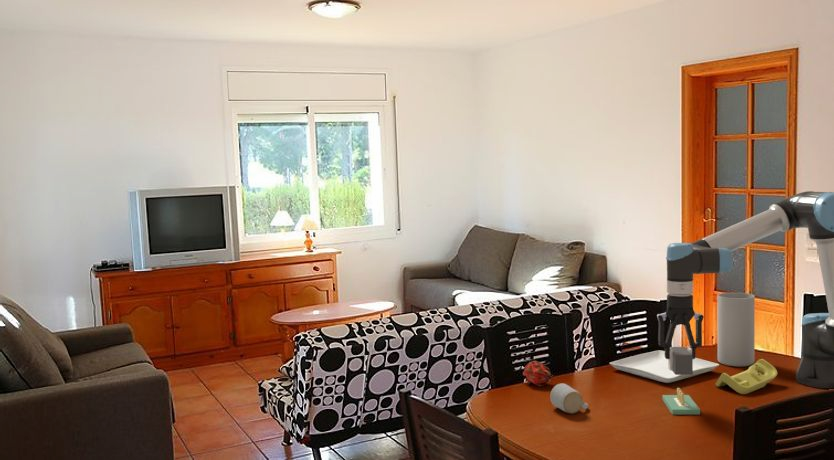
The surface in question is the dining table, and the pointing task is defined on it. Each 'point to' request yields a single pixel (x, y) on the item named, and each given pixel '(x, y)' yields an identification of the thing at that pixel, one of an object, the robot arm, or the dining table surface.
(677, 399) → the header board
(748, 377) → the plastic component
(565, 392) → the ceramic mug
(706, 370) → the square plate
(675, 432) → the dining table surface
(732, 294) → the cylinder vase
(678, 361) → the plug housing
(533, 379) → the dragon fruit
